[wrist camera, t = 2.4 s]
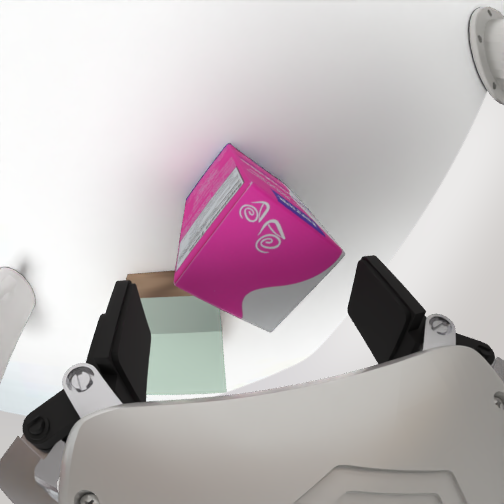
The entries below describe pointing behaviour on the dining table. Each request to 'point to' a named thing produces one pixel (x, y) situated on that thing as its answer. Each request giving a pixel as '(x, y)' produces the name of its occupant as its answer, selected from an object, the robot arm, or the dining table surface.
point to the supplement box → (250, 243)
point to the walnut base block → (156, 284)
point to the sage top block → (184, 346)
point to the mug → (13, 312)
